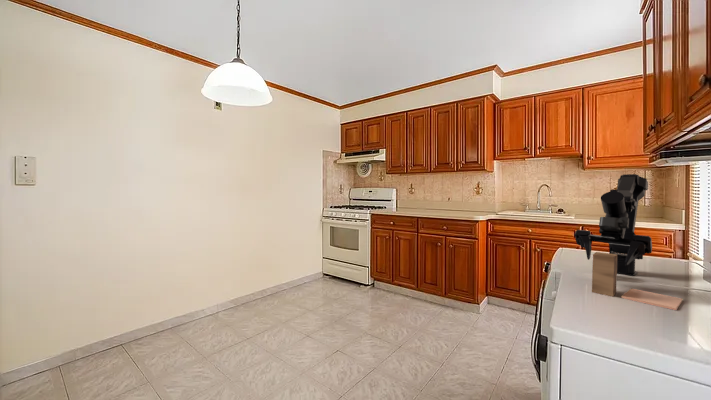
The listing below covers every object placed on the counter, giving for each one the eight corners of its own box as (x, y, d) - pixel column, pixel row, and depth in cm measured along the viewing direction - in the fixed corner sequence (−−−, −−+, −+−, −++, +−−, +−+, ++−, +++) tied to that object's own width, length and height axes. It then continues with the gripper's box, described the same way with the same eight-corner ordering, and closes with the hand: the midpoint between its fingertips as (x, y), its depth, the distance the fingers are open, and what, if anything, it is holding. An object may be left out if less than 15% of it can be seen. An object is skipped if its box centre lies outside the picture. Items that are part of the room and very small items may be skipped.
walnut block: (595, 288, 95) (596, 251, 94) (616, 292, 91) (617, 254, 91) (591, 292, 92) (592, 254, 91) (612, 296, 88) (614, 257, 87)
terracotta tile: (631, 290, 93) (631, 288, 93) (682, 300, 84) (682, 298, 84) (621, 297, 87) (621, 295, 87) (676, 310, 78) (676, 308, 78)
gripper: (576, 206, 102) (566, 241, 96) (652, 209, 88) (646, 250, 81) (582, 227, 108) (572, 261, 101) (654, 233, 93) (648, 273, 87)
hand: (606, 261), depth 92 cm, fingers open, 9 cm apart
